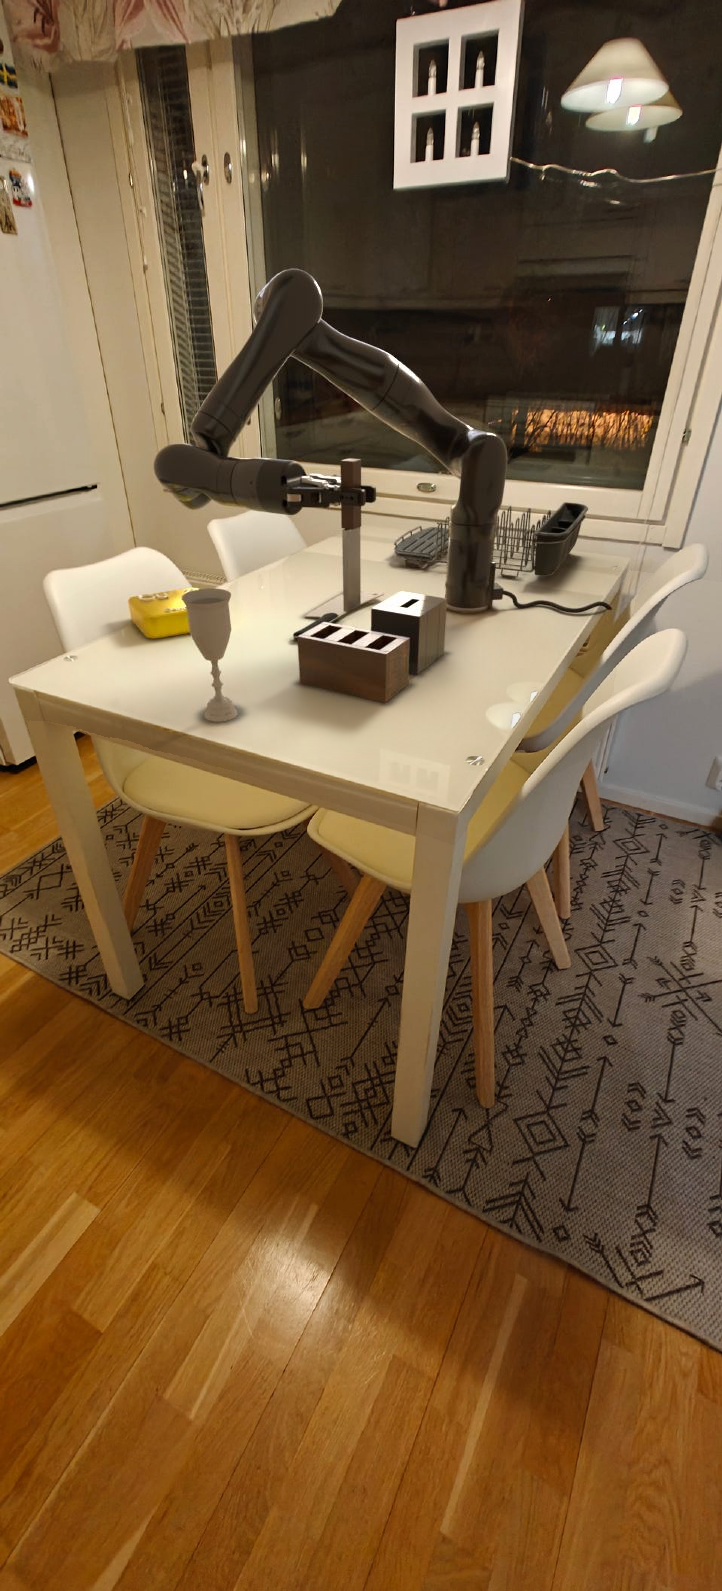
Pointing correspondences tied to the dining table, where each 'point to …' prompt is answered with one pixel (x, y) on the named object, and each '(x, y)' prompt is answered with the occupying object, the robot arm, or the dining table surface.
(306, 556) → the dining table surface
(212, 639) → the chalice
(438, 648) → the knife block
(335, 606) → the kitchen cleaver
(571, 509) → the dish rack
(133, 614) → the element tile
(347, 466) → the chef knife
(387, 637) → the knife rack
